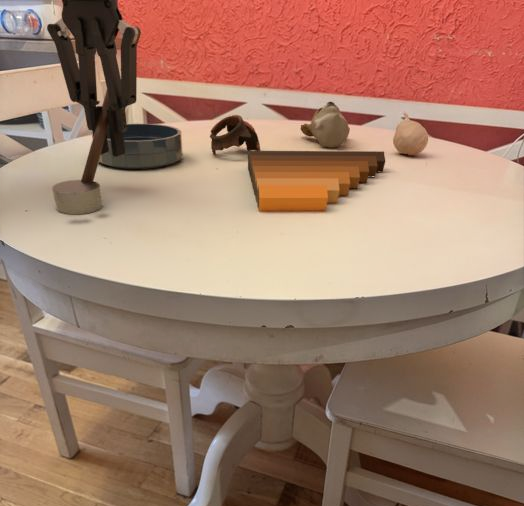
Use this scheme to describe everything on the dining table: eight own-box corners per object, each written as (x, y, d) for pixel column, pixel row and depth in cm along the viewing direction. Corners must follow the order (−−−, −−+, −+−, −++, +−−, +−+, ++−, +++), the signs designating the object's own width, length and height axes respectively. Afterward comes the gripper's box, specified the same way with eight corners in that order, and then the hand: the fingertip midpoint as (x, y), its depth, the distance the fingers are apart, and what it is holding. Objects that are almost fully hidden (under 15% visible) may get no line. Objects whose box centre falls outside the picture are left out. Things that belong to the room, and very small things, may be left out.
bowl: (79, 166, 91) (74, 136, 88) (121, 147, 104) (118, 121, 101) (162, 174, 88) (159, 144, 85) (194, 153, 101) (193, 127, 98)
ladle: (88, 216, 69) (68, 102, 61) (47, 211, 71) (22, 99, 62) (143, 182, 83) (133, 86, 75) (108, 179, 85) (94, 84, 77)
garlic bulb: (418, 151, 108) (426, 111, 103) (427, 158, 102) (436, 116, 98) (388, 151, 107) (395, 110, 103) (396, 158, 102) (403, 115, 98)
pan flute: (378, 167, 95) (247, 167, 93) (381, 149, 93) (247, 148, 91) (424, 211, 75) (259, 212, 73) (429, 188, 73) (259, 188, 71)
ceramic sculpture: (312, 103, 101) (300, 98, 114) (309, 149, 105) (297, 139, 118) (363, 105, 102) (345, 99, 115) (358, 150, 106) (341, 139, 119)
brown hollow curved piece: (267, 162, 98) (249, 125, 92) (224, 182, 101) (204, 147, 95) (260, 133, 106) (244, 97, 100) (221, 153, 108) (202, 118, 102)
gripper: (151, -33, 67) (165, 152, 80) (49, -34, 69) (80, 144, 83) (124, -38, 60) (145, 163, 74) (14, -39, 63) (53, 154, 77)
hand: (110, 153), depth 78 cm, fingers open, 2 cm apart
